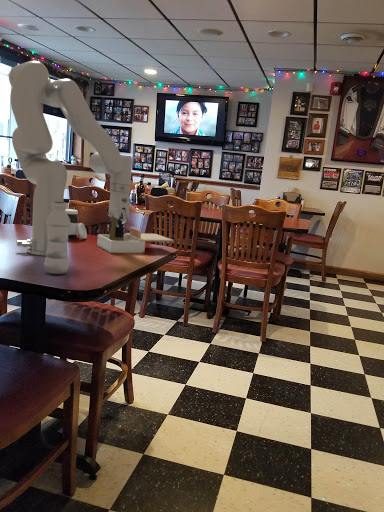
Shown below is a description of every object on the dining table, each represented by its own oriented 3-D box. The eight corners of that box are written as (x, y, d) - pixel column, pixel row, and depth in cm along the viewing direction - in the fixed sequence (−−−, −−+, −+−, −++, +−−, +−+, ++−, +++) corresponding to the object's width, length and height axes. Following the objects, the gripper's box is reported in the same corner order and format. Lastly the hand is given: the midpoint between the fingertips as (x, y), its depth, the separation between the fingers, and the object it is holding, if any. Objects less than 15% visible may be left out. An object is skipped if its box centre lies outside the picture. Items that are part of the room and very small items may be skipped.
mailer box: (110, 253, 148) (111, 241, 147) (97, 245, 159) (97, 234, 158) (144, 252, 155) (145, 241, 155) (129, 245, 167) (130, 235, 166)
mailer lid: (140, 241, 153) (141, 231, 153) (125, 234, 165) (125, 225, 164) (172, 241, 161) (173, 232, 160) (155, 235, 173) (156, 226, 172)
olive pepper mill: (115, 241, 160) (117, 213, 158) (127, 243, 157) (129, 215, 155) (104, 242, 155) (106, 213, 153) (116, 244, 152) (119, 216, 150)
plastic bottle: (43, 276, 108) (46, 202, 104) (44, 270, 114) (47, 200, 111) (68, 277, 110) (71, 204, 106) (68, 271, 116) (71, 202, 112)
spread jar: (57, 234, 174) (58, 207, 172) (83, 235, 179) (85, 209, 177) (60, 239, 164) (62, 211, 161) (88, 240, 169) (90, 213, 166)
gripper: (138, 191, 147) (134, 240, 150) (120, 187, 161) (117, 232, 164) (119, 189, 143) (115, 240, 146) (102, 186, 156) (99, 232, 160)
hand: (116, 235), depth 155 cm, fingers closed on olive pepper mill, 4 cm apart
